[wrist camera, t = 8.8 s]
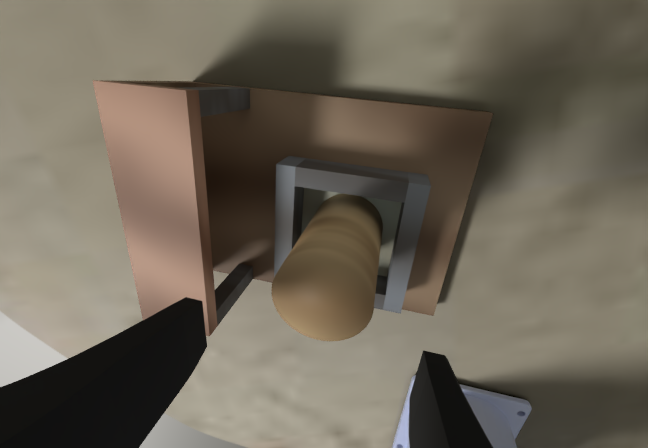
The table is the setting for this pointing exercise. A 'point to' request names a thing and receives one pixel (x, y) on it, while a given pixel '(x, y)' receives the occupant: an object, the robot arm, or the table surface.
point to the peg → (332, 271)
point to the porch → (280, 184)
